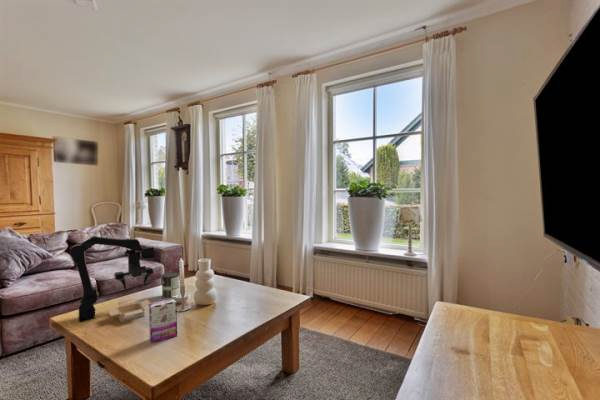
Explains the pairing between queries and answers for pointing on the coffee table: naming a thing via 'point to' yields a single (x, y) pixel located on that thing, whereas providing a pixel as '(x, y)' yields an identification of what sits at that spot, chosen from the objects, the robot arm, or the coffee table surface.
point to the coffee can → (170, 285)
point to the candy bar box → (162, 320)
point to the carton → (128, 312)
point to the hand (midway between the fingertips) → (134, 288)
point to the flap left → (127, 302)
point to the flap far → (145, 303)
